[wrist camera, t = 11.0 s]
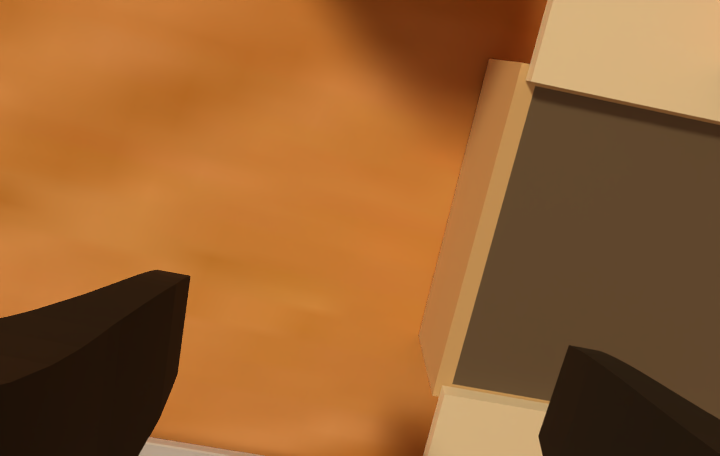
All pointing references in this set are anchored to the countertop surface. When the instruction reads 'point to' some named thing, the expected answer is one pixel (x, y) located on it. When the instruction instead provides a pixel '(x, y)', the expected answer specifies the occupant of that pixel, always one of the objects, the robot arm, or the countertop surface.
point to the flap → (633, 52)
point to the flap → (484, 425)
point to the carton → (578, 244)
